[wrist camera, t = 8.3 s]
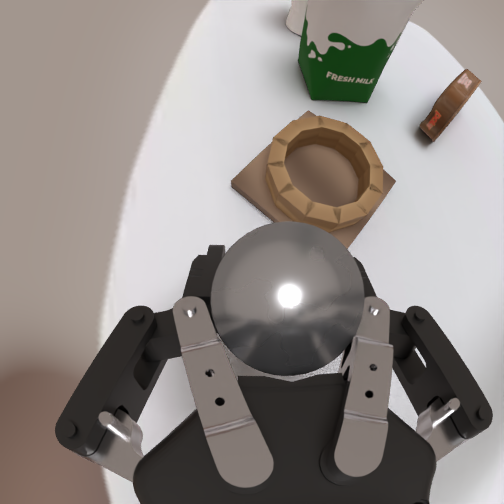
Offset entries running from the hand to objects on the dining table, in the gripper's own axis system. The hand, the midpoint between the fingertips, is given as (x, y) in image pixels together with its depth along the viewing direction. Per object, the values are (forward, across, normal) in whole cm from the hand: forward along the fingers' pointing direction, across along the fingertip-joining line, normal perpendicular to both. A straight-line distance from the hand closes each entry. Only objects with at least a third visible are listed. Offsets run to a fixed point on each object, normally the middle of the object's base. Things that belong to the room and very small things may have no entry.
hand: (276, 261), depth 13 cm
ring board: (+12, -5, +1) cm, 13 cm away
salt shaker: (+2, 0, +4) cm, 5 cm away
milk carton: (+23, -8, -9) cm, 26 cm away
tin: (+21, -23, -7) cm, 32 cm away
